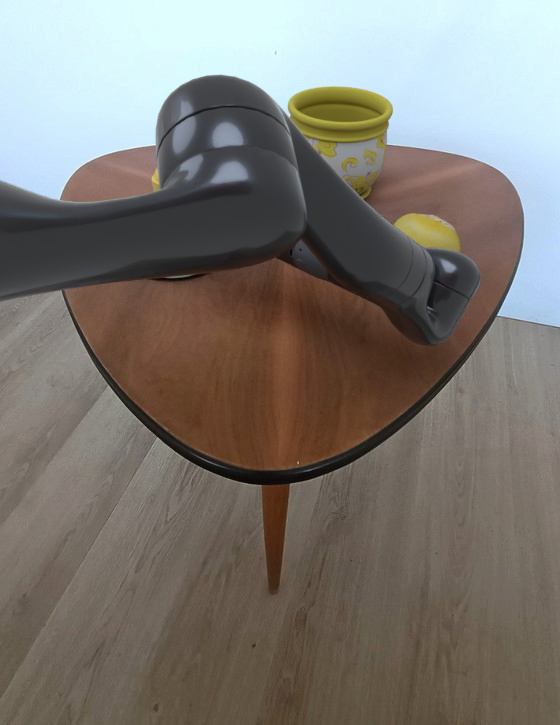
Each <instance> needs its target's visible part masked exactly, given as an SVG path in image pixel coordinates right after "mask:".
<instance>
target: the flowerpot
mask: <svg viewBox="0 0 560 725" xmlns="http://www.w3.org/2000/svg"><path fill="white" fill-rule="evenodd" d="M287 111H288V113H289V118H290V119H291V120H292V121H293V123H294V124H295V125H296V126H297V128H298V129H299V130H300V131H301V133H302V134H303V135H304V136H305V137H306V139H307V140H308V141H309V142H310V144H311V145H312V146H313V147H314V148H315V150H316V151H317V152H318V153H319V154H320V155H321V156H322V157H323V158H324V159H325V160H326V162H327V163H328V164H329V165H330V166H331V167H332V168H333V169H334V170H335V171H336V172H337V173H338V174H339V175H340V177H341V178H342V179H343V180H344V181H345V182H346V183H347V184H348V185H349V186H350V187H351V188H352V189H353V190H354V191H355V192H356V193H357V194H358V195H359V196H360V197H361V198H362V199H363V200H365V199H366V198H367V197H368V196H369V195H370V194H371V192H372V185H373V184H374V183H375V181H376V180H377V179H378V177H379V176H380V173H381V172H382V169H383V167H384V163H385V160H386V154H387V147H388V129H389V126H390V122H389V120H390V119H391V118H392V116H393V113H394V107H393V105H392V102H391V101H390V100H389V99H388V98H386V97H385V96H383V95H381V94H379V93H376V92H373V91H371V90H368V89H364V88H363V89H362V88H358V87H351V86H350V87H349V86H338V85H337V86H319V87H312V88H308V89H305V90H301V91H299V92H297V93H294V95H292V96H291V97H290V98H289V100H288V102H287Z"/></svg>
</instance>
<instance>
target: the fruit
mask: <svg viewBox="0 0 560 725" xmlns="http://www.w3.org/2000/svg"><path fill="white" fill-rule="evenodd" d="M393 225H394V226H395V227H397V228H398V229H399V230H401V231H402V232H404V233H405V234H406V235H408V236H409V237H410V238H412V239H413V240H414V241H416V242H417V243H418V244H420V245H421V246H422V247H432V248H443V249H449V250H454V251H457V252H460V253H461V242H460V238H459V236H458V234H457V232H456V229H455V227H454V226H453V225H452V224H451V223H449V222H447V221H446V220H445V219H442V218H440V217H439V216H437V215H434V214H424V213H415V212H413V213H411V212H410V213H407V214H405V215H402V216H401V217H399V218H398V219H397V220H396V221H395V222H394V224H393Z"/></svg>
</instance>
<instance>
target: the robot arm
mask: <svg viewBox="0 0 560 725" xmlns="http://www.w3.org/2000/svg"><path fill="white" fill-rule="evenodd" d="M156 118H157V119H156V124H155V157H156V169H158V179H159V189H160V190H157V191H151V192H147V193H144V194H139V195H133V196H128V197H123V198H122V197H121V198H113V199H106V200H97V201H70V200H63V199H58V198H53V197H49V196H46V195H43V194H40V193H37V192H34V191H32V190H29V189H27V188H24V187H21V186H18V185H15V184H14V183H10V182H7V181H5V180H3V179H0V303H1V302H5V301H11V300H15V299H16V300H17V299H21V298H26V297H31V296H36V295H42V294H49V293H55V292H60V291H65V290H72V289H78V288H83V287H91V286H98V285H106V284H113V283H124V282H132V281H134V282H135V281H143V280H152V279H163V278H164V277H174V276H185V275H191V276H195V274H196V275H203V274H212V273H221V272H227V271H233V270H239V269H244V268H249V267H253V266H256V265H260V264H263V263H266V262H269V261H272V260H273V259H277V260H279V261H281V262H283V263H285V264H287V265H288V266H291V267H294V268H295V269H297V270H300V271H302V272H304V273H305V274H308V275H309V276H312V277H314V278H316V279H319V280H322V281H325V282H328V283H331V284H333V285H335V286H337V287H339V288H341V289H343V290H345V291H346V292H349V293H350V294H353V295H355V296H357V297H360V298H362V299H364V300H366V301H367V302H370V303H371V304H374V305H376V306H378V307H379V308H380V309H381V310H382V311H383V312H384V314H385V316H386V317H387V319H388V320H389V322H390V323H391V324H392V325H393V327H394V328H395V329H396V331H398V332H399V333H400V334H401V335H402V336H403V337H404V338H406V339H407V340H409V341H410V342H412V343H415V344H416V345H420V346H424V347H436V346H439V345H441V344H444V343H446V341H448V340H449V339H450V338H451V336H452V335H453V334H454V332H455V330H456V329H457V327H458V325H459V323H460V321H461V319H462V318H463V315H464V314H465V312H466V310H467V308H468V306H469V305H470V303H471V300H472V299H473V297H474V295H475V294H476V292H477V290H478V288H479V286H480V283H481V279H482V274H481V271H480V269H479V267H478V265H477V264H476V262H475V261H474V260H473V259H472V258H470V257H469V256H468V255H466V254H465V253H463V252H461V251H460V252H457V251H454V250H449V249H443V248H432V247H422V246H421V245H420V244H418V243H417V242H416V241H414V240H413V239H412V238H410V237H409V236H408V235H406V234H405V233H404V232H402V231H401V230H399V229H398V228H397V227H395V226H394V224H392V223H391V222H390V221H389V220H387V219H386V218H385V217H384V216H382V215H381V214H380V213H379V212H378V211H376V210H375V209H374V208H373V207H372V206H371V205H370V204H369V203H367V201H365V199H362V198H361V197H360V196H359V195H358V194H357V193H356V192H355V191H354V190H353V189H352V188H351V187H350V186H349V185H348V184H347V183H346V182H345V181H344V180H343V179H342V178H341V177H340V175H339V174H338V173H337V172H336V171H335V170H334V169H333V168H332V167H331V166H330V165H329V164H328V163H327V162H326V160H325V159H324V158H323V157H322V156H321V155H320V154H319V153H318V152H317V151H316V150H315V148H314V147H313V146H312V145H311V144H310V142H309V141H308V140H307V139H306V137H305V136H304V135H303V134H302V133H301V131H300V130H299V129H298V128H297V126H296V125H295V124H294V123H293V121H292V120H291V119H290V115H288V114H287V112H286V111H285V110H284V109H283V108H282V107H281V105H280V104H279V103H278V102H277V101H276V100H275V99H274V98H273V97H272V96H271V95H270V94H268V93H267V92H266V91H265V90H264V89H263V88H261V87H260V86H258V85H257V84H255V83H253V82H251V81H249V80H246V79H243V78H240V77H238V76H235V75H234V76H233V75H227V74H209V75H208V74H207V75H203V76H200V77H196V78H195V77H194V78H192V79H190V80H189V81H185V82H184V83H182V84H181V85H179V86H178V87H176V88H175V89H174V90H172V91H171V92H170V93H169V95H168V96H167V97H166V99H165V100H164V101H163V103H162V105H161V107H160V109H159V112H158V114H157V117H156ZM164 279H165V278H164Z"/></svg>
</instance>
